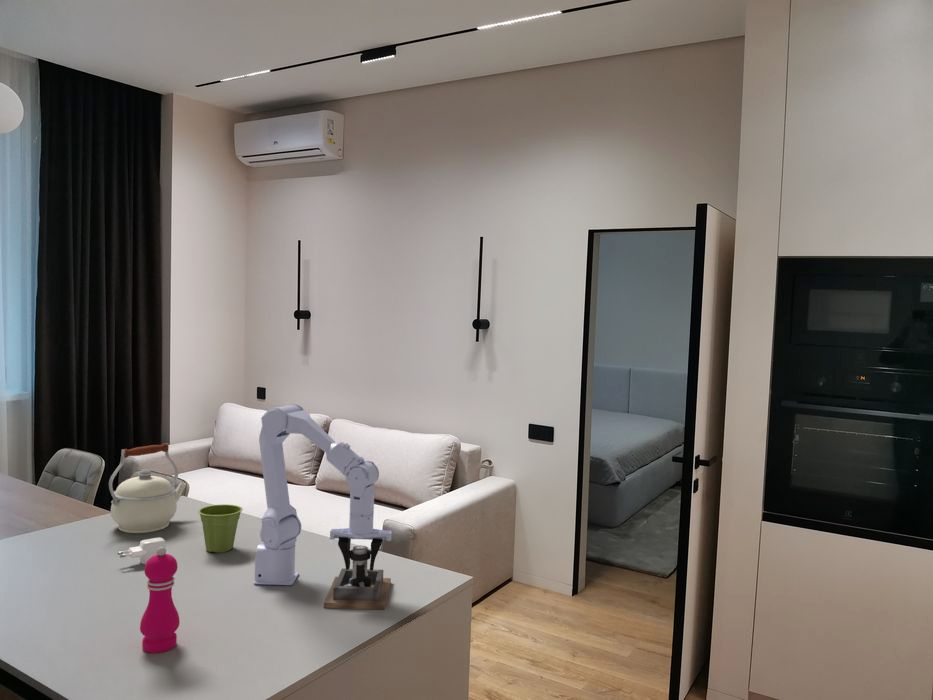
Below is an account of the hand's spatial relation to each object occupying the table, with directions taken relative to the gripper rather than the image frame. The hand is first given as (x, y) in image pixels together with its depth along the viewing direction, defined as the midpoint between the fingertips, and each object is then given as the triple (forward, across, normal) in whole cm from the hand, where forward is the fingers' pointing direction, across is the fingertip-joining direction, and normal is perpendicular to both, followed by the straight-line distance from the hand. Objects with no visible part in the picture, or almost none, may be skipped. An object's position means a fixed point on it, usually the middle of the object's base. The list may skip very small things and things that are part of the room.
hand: (359, 568), depth 166 cm
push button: (+5, 0, 0) cm, 5 cm away
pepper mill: (+7, -36, -28) cm, 46 cm away
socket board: (+6, 0, 0) cm, 6 cm away
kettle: (+6, -71, +48) cm, 86 cm away
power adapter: (+7, -59, +16) cm, 61 cm away
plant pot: (+7, -43, +29) cm, 52 cm away
